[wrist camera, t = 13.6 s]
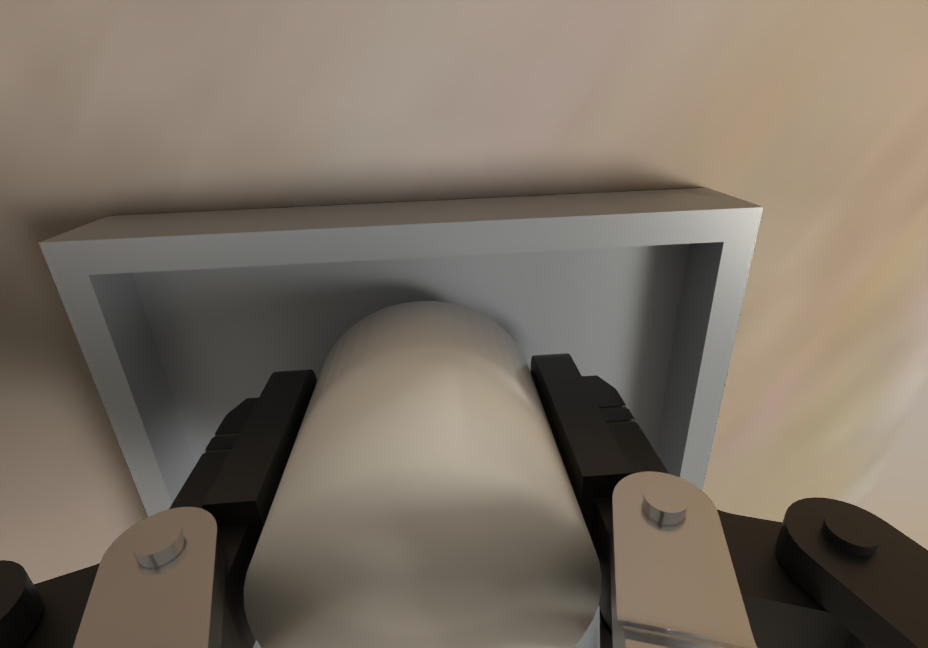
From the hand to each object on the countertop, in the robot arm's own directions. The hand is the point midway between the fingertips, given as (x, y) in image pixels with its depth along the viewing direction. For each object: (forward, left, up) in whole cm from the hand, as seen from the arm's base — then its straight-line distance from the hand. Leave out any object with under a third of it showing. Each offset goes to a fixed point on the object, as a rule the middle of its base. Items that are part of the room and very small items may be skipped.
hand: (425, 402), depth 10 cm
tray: (+4, 0, -2) cm, 4 cm away
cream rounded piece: (0, 0, 0) cm, 0 cm away
